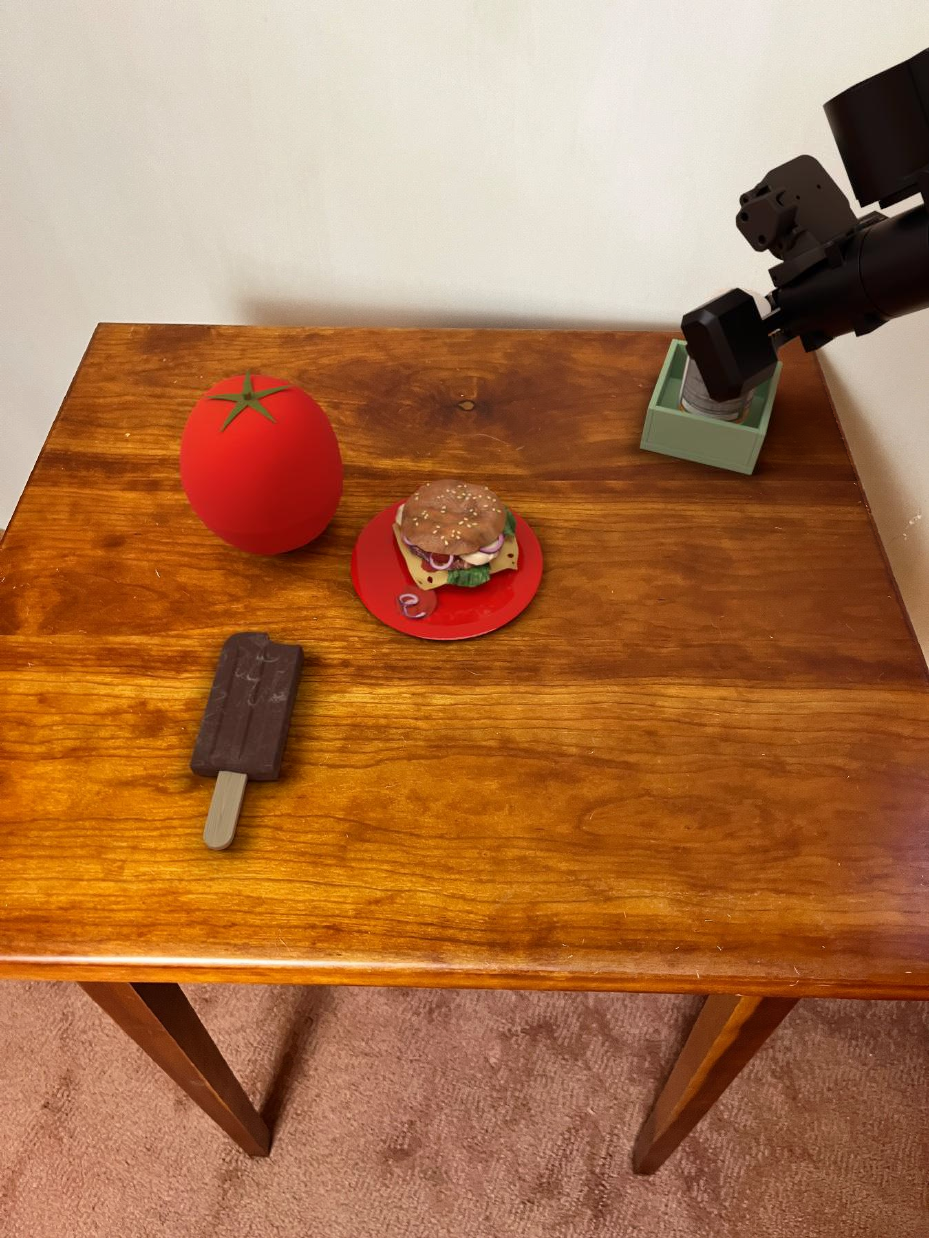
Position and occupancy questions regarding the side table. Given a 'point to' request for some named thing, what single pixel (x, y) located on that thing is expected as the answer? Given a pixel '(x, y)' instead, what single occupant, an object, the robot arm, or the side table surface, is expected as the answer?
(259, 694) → the ice cream bar
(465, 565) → the hamburger
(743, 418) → the pill bottle
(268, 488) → the tomato
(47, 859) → the side table surface
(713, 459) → the green storage bin
